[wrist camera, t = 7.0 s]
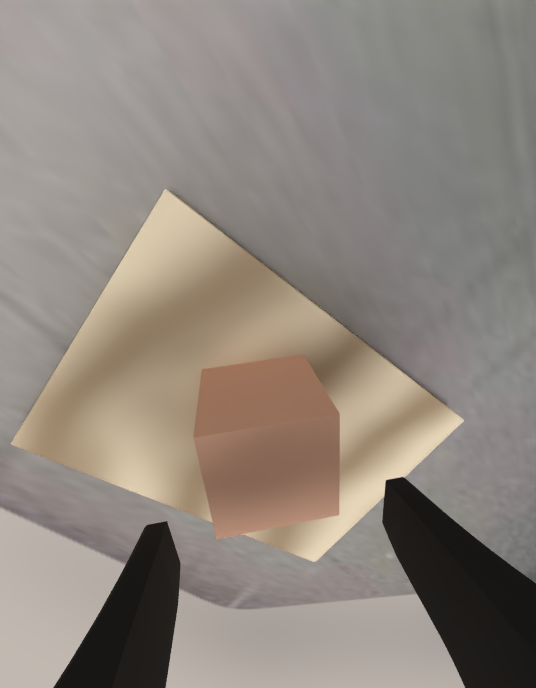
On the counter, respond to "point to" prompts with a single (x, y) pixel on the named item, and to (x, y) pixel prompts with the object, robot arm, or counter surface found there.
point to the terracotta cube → (267, 445)
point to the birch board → (215, 351)
